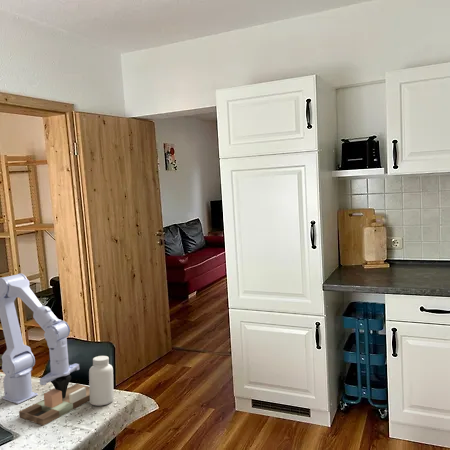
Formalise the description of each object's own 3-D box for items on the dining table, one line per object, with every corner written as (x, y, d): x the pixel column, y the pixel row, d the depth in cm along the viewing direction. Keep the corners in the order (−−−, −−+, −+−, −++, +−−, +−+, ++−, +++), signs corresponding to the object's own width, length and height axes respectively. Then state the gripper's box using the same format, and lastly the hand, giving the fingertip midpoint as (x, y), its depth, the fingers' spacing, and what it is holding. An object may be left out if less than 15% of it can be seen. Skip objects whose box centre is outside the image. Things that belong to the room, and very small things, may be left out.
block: (44, 405, 147) (43, 393, 147) (54, 400, 150) (53, 388, 150) (52, 407, 145) (51, 395, 145) (62, 402, 148) (61, 391, 148)
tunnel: (49, 397, 153) (49, 388, 153) (64, 390, 158) (63, 381, 158) (72, 403, 147) (71, 394, 147) (86, 396, 152) (85, 387, 152)
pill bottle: (112, 405, 149) (111, 360, 148) (88, 407, 148) (86, 362, 147) (115, 395, 157) (113, 353, 156) (91, 397, 155) (90, 355, 155)
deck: (19, 417, 144) (19, 411, 144) (77, 388, 164) (77, 383, 164) (43, 425, 137) (42, 419, 137) (100, 395, 158) (100, 389, 157)
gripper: (48, 367, 142) (51, 409, 142) (84, 353, 154) (86, 391, 155) (34, 364, 145) (37, 404, 146) (70, 350, 158) (73, 387, 158)
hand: (62, 397), depth 151 cm, fingers closed
